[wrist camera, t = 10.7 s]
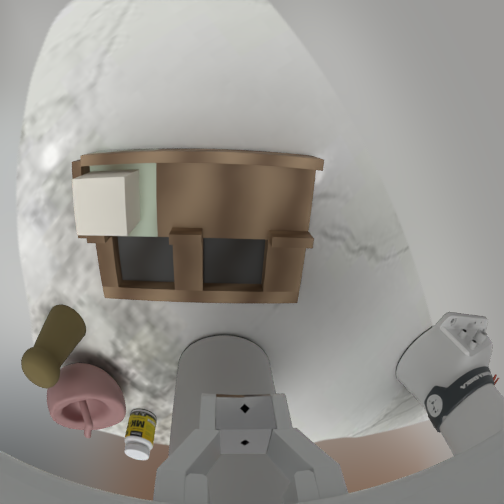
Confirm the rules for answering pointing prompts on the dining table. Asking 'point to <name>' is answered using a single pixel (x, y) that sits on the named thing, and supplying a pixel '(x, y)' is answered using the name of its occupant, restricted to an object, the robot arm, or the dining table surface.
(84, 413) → the mortar and pestle
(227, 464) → the cylinder vase
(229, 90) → the dining table surface
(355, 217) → the dining table surface
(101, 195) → the block
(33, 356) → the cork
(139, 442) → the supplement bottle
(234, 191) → the box
